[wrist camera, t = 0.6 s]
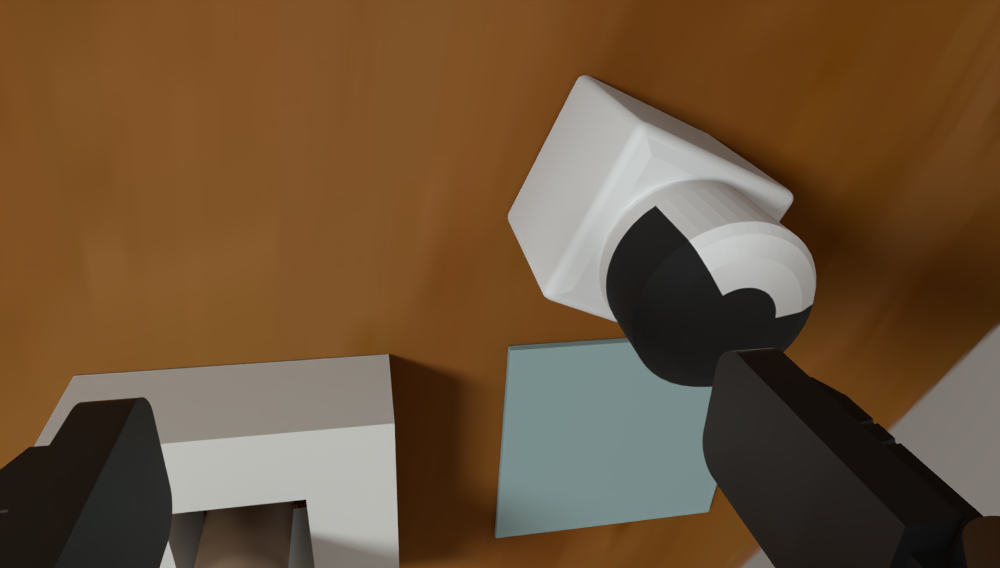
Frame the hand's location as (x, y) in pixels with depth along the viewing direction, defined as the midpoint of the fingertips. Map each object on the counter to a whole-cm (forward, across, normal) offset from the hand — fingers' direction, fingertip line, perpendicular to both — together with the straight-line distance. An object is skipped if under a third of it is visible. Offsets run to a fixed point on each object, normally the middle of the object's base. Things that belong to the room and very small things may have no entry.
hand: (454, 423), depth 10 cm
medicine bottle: (+20, -10, +2) cm, 23 cm away
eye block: (+21, +8, +18) cm, 29 cm away
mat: (+21, -12, +18) cm, 31 cm away
